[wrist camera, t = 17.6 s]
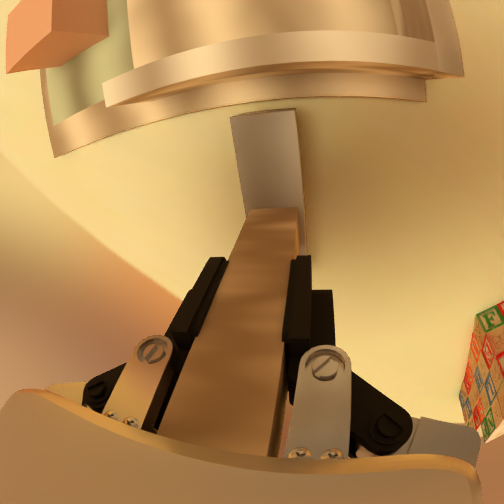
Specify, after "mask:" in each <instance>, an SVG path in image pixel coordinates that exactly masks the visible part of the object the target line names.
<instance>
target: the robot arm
mask: <svg viewBox="0 0 504 504" xmlns="http://www.w3.org/2000/svg"><path fill="white" fill-rule="evenodd" d="M228 263H229V261H226V259H225V257H210V258H209V260H208V261H207V263H206V265H205V267H204V268H203V270H202V272H201V274H200V276H199V277H198V279H197V281H196V283H195V285H194V287H193V288H192V289H191V290H189V292H188V293H187V295H186V297H185V298H184V300H183V302H182V304H181V306H180V308H179V309H178V311H177V313H176V315H175V317H174V318H173V321H172V322H171V324H170V326H169V328H168V330H167V332H166V333H165V335H164V336H162V335H153V336H149V337H147V338H145V339H143V340H142V341H140V342H139V343H138V345H137V346H136V347H135V349H134V350H133V353H132V354H131V356H130V358H129V360H128V362H127V363H124V364H122V365H120V366H118V367H116V368H114V369H112V370H110V371H107V372H105V373H103V374H101V375H98V376H96V377H94V378H93V379H91V380H90V381H89V382H88V383H86V382H85V381H84V382H73V383H59V384H51V385H49V386H47V387H46V388H45V389H44V390H42V389H23V390H19V391H17V392H15V393H14V394H12V395H11V397H10V398H9V399H8V400H7V402H6V403H5V404H4V406H3V407H2V409H1V410H0V504H484V502H483V493H482V487H481V482H480V479H479V476H478V474H477V471H476V470H475V466H476V462H477V458H478V454H479V450H480V444H481V439H480V436H479V433H478V432H477V431H476V430H475V429H474V428H472V427H469V426H463V425H458V424H453V423H448V422H443V421H438V420H434V419H429V418H425V417H421V418H420V419H418V418H414V417H411V416H410V414H409V413H408V412H407V411H406V410H405V409H403V408H402V407H401V406H399V405H398V404H396V403H395V402H394V401H392V400H391V399H389V398H388V397H387V396H385V395H384V394H382V393H381V392H380V391H378V390H377V389H375V388H374V387H373V386H371V385H370V384H369V383H367V382H366V381H364V380H363V379H362V378H360V377H359V376H358V375H356V374H355V373H354V372H352V371H351V361H350V358H349V356H348V355H347V353H346V352H345V351H343V350H342V349H341V348H338V347H336V345H335V324H334V308H333V294H332V290H312V271H311V255H297V257H296V259H291V264H290V273H289V281H288V289H287V297H286V305H285V313H284V320H283V327H282V342H284V346H285V359H286V371H287V385H288V391H289V401H290V404H291V405H292V406H293V409H292V415H291V421H290V426H289V432H288V437H287V442H286V447H285V452H284V457H283V458H278V457H266V456H257V455H249V454H241V453H235V452H229V451H223V450H217V449H212V448H207V447H202V446H198V445H193V444H189V443H185V442H181V441H177V440H174V439H170V438H167V437H163V436H160V435H156V434H157V431H158V429H159V426H160V424H161V421H162V419H163V416H164V413H165V411H166V408H167V406H168V403H169V401H170V398H171V396H172V393H173V391H174V388H175V386H176V383H177V381H178V378H179V376H180V373H181V371H182V369H183V366H184V364H185V361H186V359H187V356H188V354H189V351H190V349H191V347H192V344H193V342H194V339H195V337H198V335H199V333H200V330H201V328H202V326H203V323H204V321H205V318H206V316H207V313H208V311H209V309H210V306H211V304H212V301H213V299H214V297H215V294H216V292H217V289H218V287H219V285H220V282H221V280H222V278H223V275H224V273H225V270H226V268H227V266H228ZM348 456H349V457H350V459H348Z"/></svg>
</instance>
